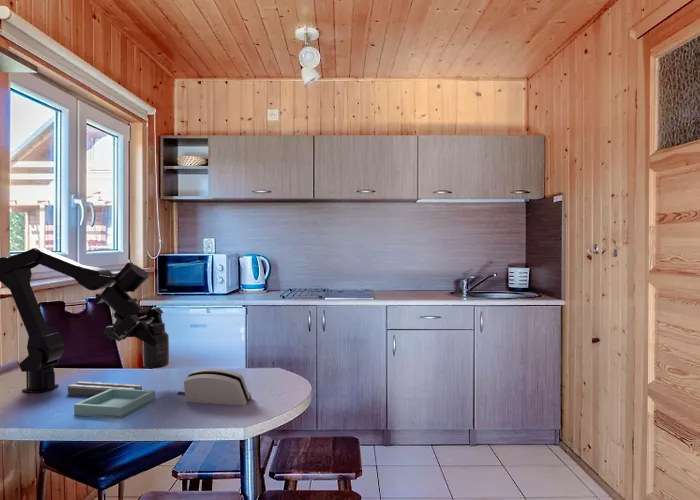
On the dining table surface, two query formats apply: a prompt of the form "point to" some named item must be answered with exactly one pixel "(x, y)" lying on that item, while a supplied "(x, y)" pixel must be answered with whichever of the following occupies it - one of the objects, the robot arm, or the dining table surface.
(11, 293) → the robot arm
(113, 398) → the tray
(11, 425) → the dining table surface
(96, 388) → the t-slot rail
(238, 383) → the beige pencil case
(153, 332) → the supplement bottle
